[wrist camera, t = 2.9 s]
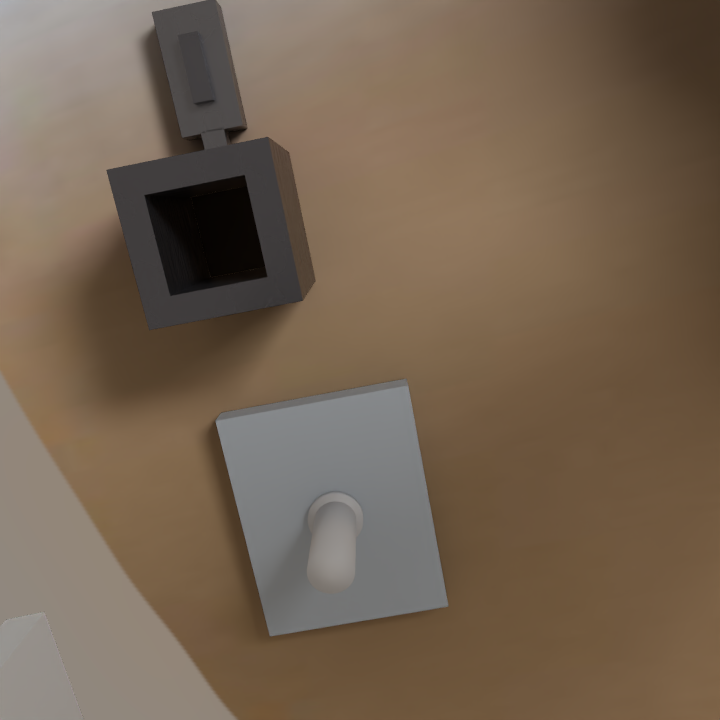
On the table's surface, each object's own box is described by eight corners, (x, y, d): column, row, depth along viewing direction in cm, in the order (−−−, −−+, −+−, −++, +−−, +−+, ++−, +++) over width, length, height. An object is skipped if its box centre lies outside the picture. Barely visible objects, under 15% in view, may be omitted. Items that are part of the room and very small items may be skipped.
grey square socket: (124, 27, 34) (53, -26, 26) (257, -1, 34) (225, -63, 26) (193, 304, 37) (149, 329, 30) (315, 280, 37) (302, 300, 29)
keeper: (220, 412, 39) (188, 460, 32) (406, 378, 38) (416, 419, 31) (273, 621, 42) (254, 709, 35) (445, 592, 41) (463, 675, 34)
